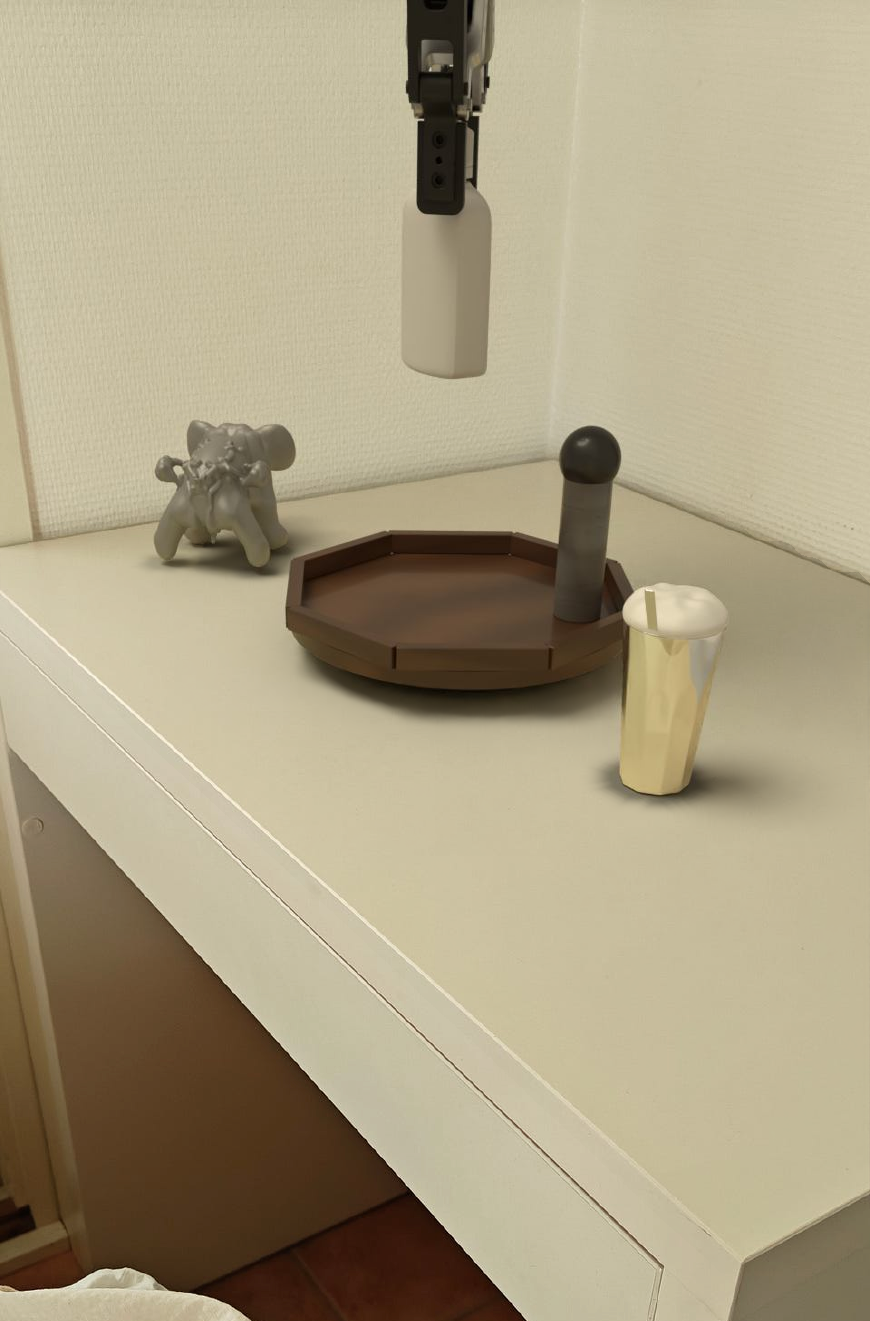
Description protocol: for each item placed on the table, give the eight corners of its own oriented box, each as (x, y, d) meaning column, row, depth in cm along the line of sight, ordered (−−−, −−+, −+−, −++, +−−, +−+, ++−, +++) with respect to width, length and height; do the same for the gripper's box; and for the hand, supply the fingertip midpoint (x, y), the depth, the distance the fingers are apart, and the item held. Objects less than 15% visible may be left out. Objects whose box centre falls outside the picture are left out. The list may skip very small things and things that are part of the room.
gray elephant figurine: (152, 577, 85) (141, 450, 81) (164, 519, 95) (154, 404, 91) (300, 575, 86) (296, 450, 82) (297, 519, 96) (293, 404, 92)
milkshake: (579, 791, 63) (600, 578, 57) (632, 750, 66) (656, 546, 61) (669, 819, 61) (699, 602, 55) (718, 775, 64) (751, 567, 59)
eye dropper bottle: (482, 359, 73) (493, 93, 66) (487, 382, 68) (498, 99, 61) (401, 357, 73) (403, 91, 66) (400, 380, 68) (401, 97, 61)
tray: (696, 623, 77) (724, 421, 71) (477, 723, 65) (488, 492, 59) (446, 545, 87) (451, 363, 81) (218, 620, 75) (204, 414, 69)
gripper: (538, -288, 50) (513, 228, 60) (557, -228, 62) (533, 196, 72) (339, -289, 51) (345, 222, 61) (395, -230, 63) (393, 190, 72)
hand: (447, 205), depth 66 cm, fingers closed on eye dropper bottle, 5 cm apart
